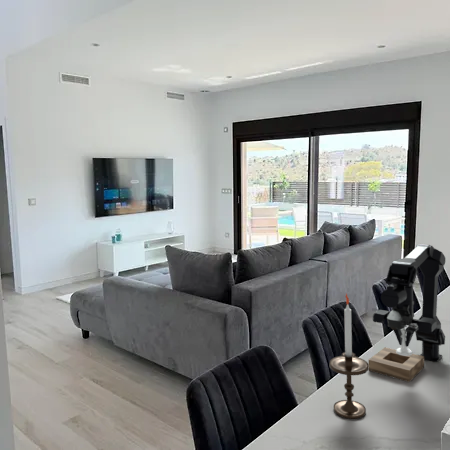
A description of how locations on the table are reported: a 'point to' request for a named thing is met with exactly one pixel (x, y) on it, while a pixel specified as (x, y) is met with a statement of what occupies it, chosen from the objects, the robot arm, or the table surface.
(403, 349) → the chess piece
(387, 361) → the tan wooden square block
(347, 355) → the candlestick
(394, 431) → the table surface
